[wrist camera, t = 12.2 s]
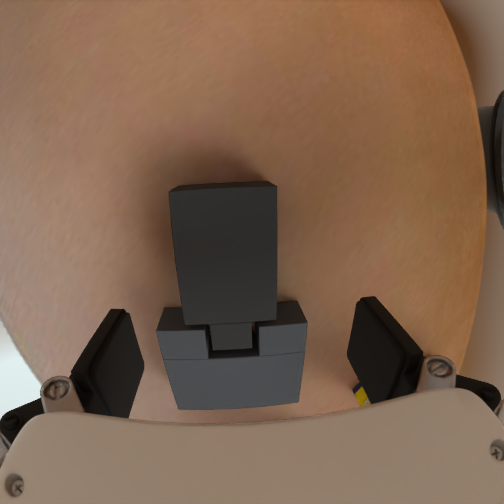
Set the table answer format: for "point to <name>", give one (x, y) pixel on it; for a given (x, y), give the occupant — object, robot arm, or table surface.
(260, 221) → the black block
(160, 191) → the table surface
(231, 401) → the charcoal block
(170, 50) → the table surface
